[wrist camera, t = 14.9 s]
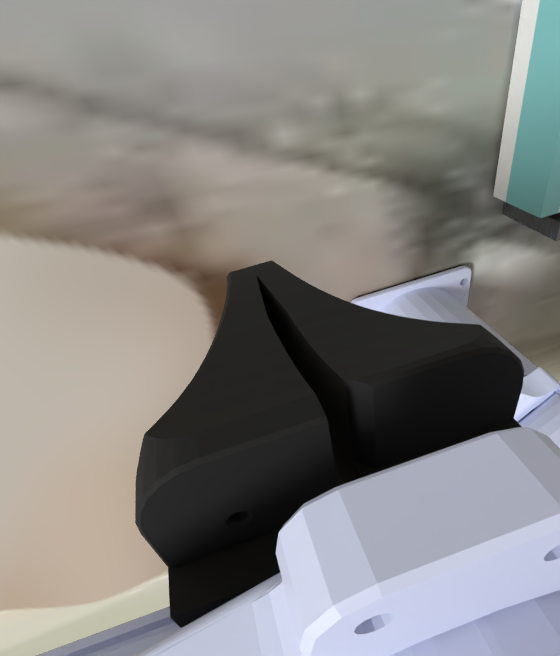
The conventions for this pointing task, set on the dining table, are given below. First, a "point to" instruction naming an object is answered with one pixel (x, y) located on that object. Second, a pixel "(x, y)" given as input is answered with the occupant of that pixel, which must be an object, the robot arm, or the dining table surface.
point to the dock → (535, 221)
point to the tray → (533, 115)
